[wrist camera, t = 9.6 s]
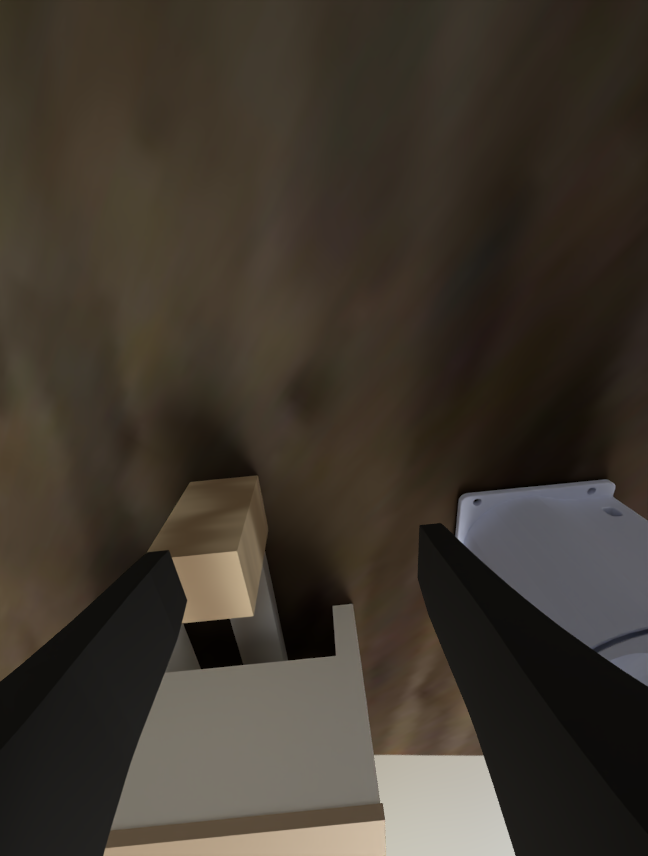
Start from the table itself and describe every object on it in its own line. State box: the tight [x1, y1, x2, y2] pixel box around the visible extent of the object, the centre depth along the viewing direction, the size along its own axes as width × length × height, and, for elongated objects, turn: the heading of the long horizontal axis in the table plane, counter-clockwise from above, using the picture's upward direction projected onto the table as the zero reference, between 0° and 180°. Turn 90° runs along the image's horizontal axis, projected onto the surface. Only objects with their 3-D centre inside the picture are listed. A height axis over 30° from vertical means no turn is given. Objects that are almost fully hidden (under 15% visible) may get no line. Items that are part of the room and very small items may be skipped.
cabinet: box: [103, 604, 386, 856], centre depth 21 cm, size 14×10×10 cm
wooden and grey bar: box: [147, 475, 288, 665], centre depth 20 cm, size 4×20×6 cm, turn 5°
